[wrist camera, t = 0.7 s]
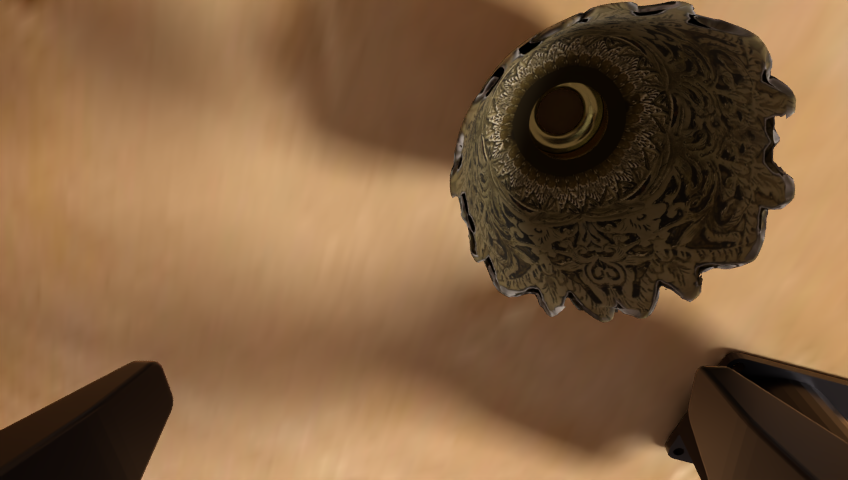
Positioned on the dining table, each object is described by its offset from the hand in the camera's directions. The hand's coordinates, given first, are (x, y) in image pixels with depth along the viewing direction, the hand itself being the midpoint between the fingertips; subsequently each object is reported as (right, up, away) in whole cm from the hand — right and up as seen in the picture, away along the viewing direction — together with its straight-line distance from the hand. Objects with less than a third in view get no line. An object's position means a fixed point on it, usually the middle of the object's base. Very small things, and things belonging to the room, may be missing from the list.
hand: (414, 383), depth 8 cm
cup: (+5, +7, +10) cm, 13 cm away
